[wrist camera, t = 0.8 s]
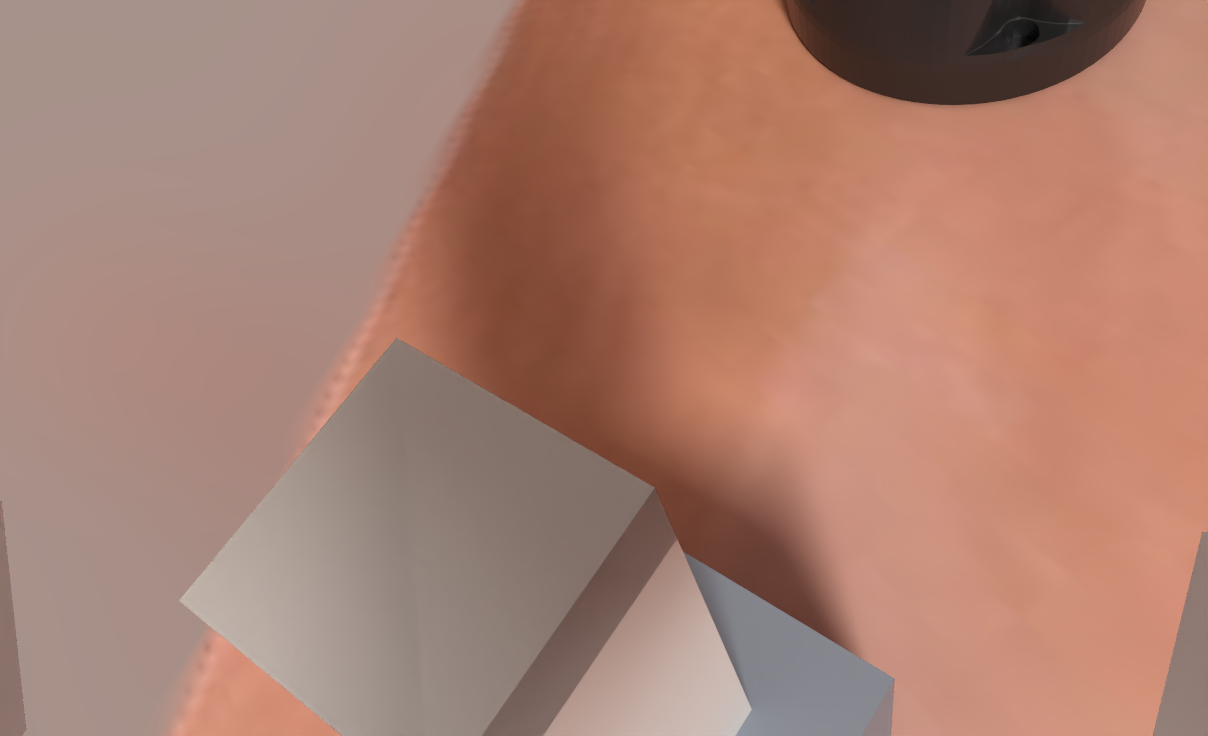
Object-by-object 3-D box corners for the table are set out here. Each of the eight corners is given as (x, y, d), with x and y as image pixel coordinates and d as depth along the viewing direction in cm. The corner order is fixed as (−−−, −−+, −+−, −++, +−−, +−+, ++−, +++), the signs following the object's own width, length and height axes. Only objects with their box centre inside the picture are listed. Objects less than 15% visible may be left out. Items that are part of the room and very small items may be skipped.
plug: (591, 604, 29) (396, 338, 17) (751, 709, 27) (654, 487, 15) (477, 768, 28) (179, 600, 16) (637, 893, 26) (430, 808, 14)
